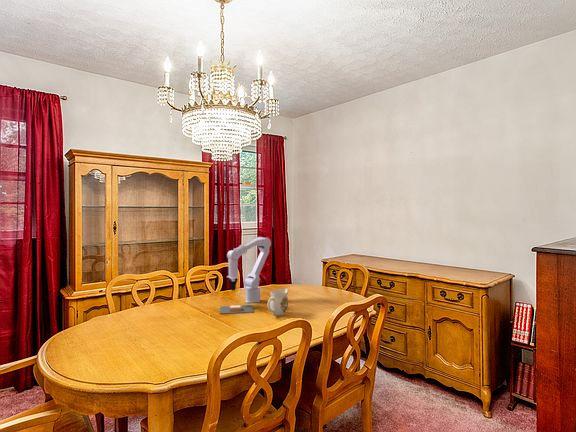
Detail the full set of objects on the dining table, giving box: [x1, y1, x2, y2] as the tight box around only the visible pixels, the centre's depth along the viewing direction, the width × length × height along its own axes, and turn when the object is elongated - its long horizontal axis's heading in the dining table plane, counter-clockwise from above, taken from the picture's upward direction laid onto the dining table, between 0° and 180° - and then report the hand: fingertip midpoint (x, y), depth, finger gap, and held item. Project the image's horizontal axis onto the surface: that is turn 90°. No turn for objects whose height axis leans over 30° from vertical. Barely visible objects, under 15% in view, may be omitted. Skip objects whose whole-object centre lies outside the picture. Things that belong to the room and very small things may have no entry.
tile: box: [228, 304, 241, 311], centre depth 208 cm, size 7×2×5 cm
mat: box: [219, 304, 255, 315], centre depth 210 cm, size 20×14×1 cm
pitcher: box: [266, 287, 289, 317], centre depth 201 cm, size 11×18×14 cm, turn 143°
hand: (233, 290), depth 219 cm, fingers closed
